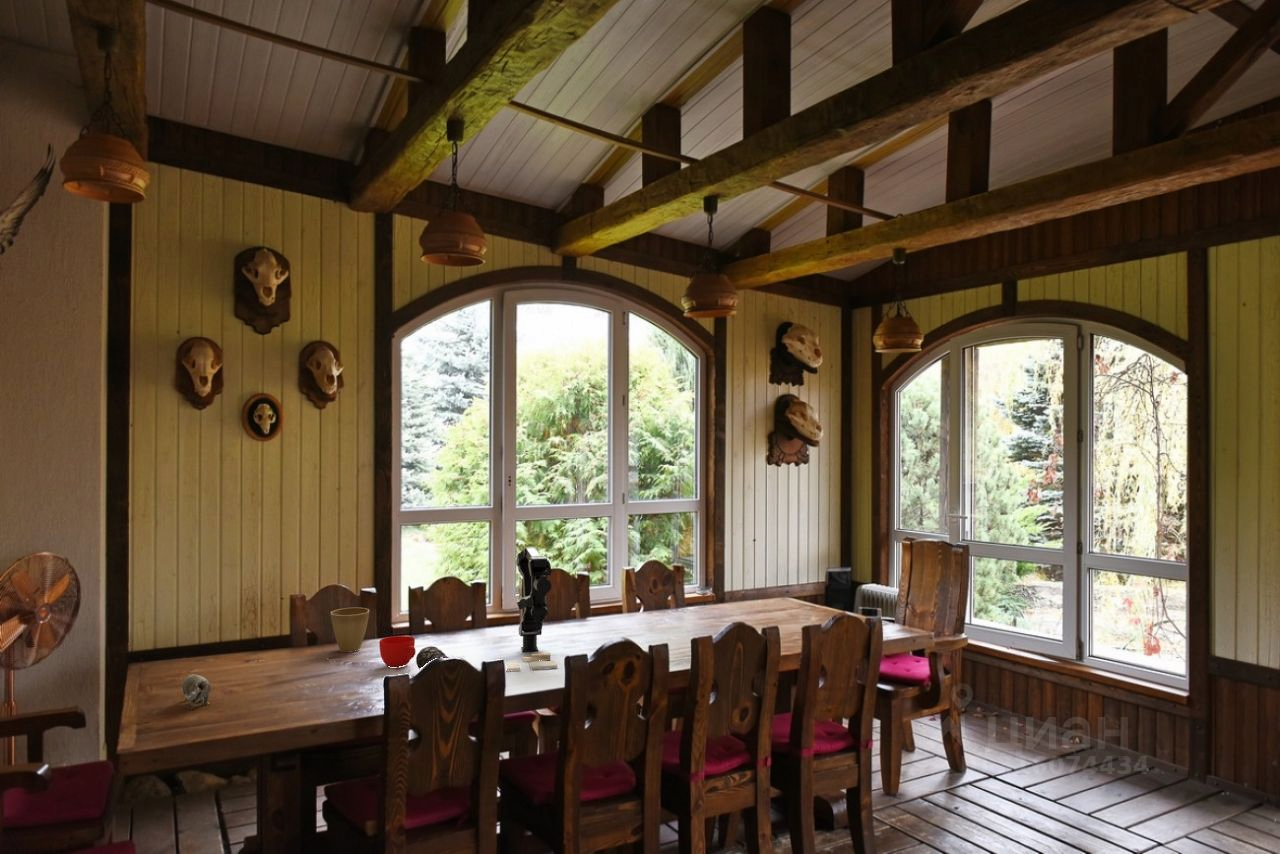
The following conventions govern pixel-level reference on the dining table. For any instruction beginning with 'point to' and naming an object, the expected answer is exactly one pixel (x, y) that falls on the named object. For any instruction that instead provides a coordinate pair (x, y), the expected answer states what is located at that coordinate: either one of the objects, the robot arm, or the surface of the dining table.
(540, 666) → the rest
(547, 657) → the beige flat block
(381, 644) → the ceramic cup
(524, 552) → the robot arm
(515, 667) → the tile
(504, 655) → the dining table surface
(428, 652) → the pine cone
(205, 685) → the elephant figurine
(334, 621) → the plant pot
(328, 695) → the dining table surface
